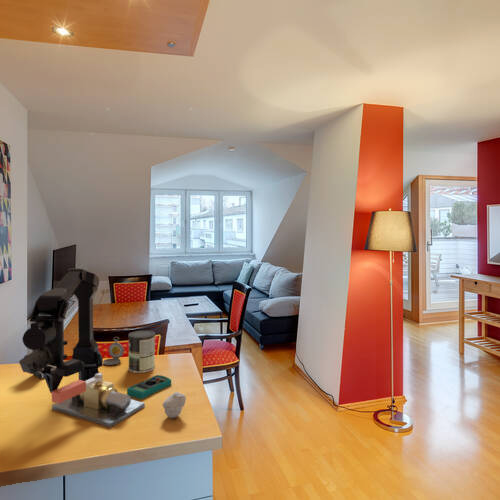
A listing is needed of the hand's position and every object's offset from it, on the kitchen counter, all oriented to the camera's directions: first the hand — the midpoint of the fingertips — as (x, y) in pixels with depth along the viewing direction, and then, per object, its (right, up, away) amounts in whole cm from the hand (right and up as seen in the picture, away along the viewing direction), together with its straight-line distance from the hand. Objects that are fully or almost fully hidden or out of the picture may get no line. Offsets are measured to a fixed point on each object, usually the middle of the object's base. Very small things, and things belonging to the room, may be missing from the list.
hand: (53, 392), depth 106 cm
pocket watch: (-1, -6, +49) cm, 50 cm away
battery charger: (-22, -7, +34) cm, 41 cm away
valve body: (+9, -8, +9) cm, 16 cm away
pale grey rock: (+34, -9, +5) cm, 35 cm away
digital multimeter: (+21, -8, +24) cm, 33 cm away
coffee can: (+13, -7, +43) cm, 45 cm away
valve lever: (+6, -1, +3) cm, 7 cm away
